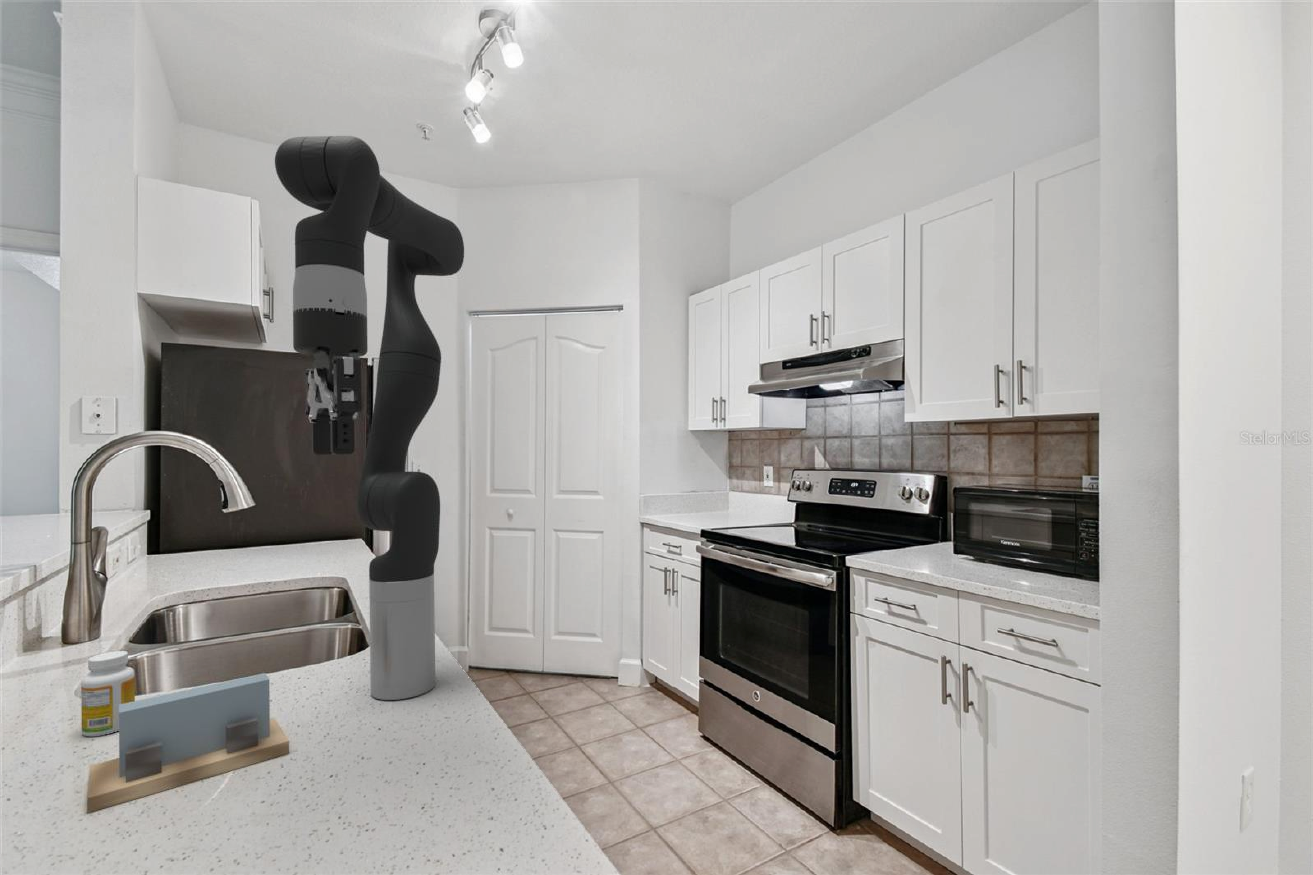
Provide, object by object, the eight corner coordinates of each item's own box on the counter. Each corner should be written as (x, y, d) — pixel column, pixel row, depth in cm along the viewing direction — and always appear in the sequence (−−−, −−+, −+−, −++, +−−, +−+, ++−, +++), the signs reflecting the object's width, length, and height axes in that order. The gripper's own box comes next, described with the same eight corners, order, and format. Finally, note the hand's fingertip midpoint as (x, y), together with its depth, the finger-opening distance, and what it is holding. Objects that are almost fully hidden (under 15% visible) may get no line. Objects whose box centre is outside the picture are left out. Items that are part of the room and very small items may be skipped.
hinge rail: (274, 729, 82) (274, 694, 82) (289, 753, 75) (288, 715, 75) (89, 779, 70) (89, 738, 70) (87, 813, 63) (87, 768, 63)
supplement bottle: (125, 716, 87) (125, 646, 87) (142, 724, 84) (141, 652, 84) (74, 732, 82) (74, 658, 82) (90, 741, 79) (90, 665, 79)
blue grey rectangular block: (265, 728, 78) (264, 673, 79) (269, 736, 76) (269, 679, 76) (119, 767, 69) (119, 704, 69) (119, 778, 67) (119, 712, 67)
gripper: (280, 319, 74) (281, 455, 73) (308, 295, 63) (310, 454, 63) (348, 326, 79) (350, 454, 78) (385, 305, 68) (387, 453, 68)
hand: (332, 454), depth 70 cm, fingers open, 8 cm apart
